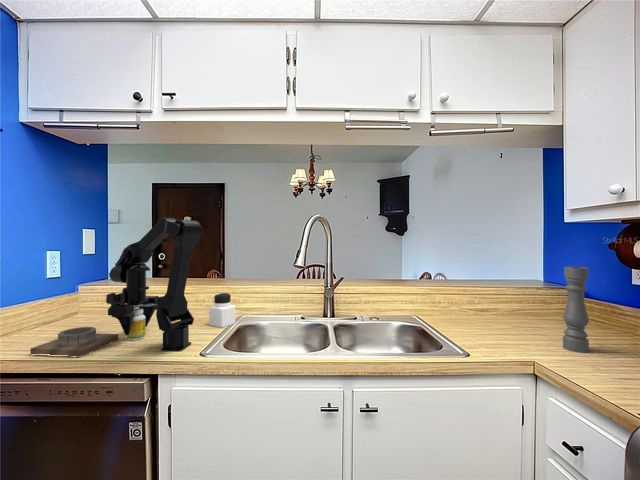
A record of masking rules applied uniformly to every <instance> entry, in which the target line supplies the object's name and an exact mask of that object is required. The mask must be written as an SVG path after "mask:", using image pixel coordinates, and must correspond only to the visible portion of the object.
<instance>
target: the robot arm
mask: <svg viewBox="0 0 640 480" xmlns="http://www.w3.org/2000/svg"><path fill="white" fill-rule="evenodd" d="M202 233H203V226H201V223H200V222H199V221H198V220H188V219H176V218H173V217H160V218H158V219H157V223H156V224H155V225H154V226H153V227H152V228H151V229H150V230H149V231H147V233H146V234H145V235H143V237H142V238H141V239H140V240H139V241H136V242H133V243H131V244H129V245H127V246H125V248H124V249H123V250H122V252H121V254H120V256H119V259H118V260H117V262H115V265H114V266H113V267H112V268H111V269H110V272H109V274H108V275H109V279H110V281H112V282H114V283H121V284H126V285H125V287H123V288H122V292H121V293H115V292H112V293H111V292H110V293H108V294H106V296H105V297H106V298H105V303H106V304H108V305H110V306H109V307H108V309H107V316H111V318H115V319H116V320H117V321H118V322H119V323H120V326H121V329H122V330H123V333H124V336H127V335H129V333H130V330H131V326H132V322H133V318H134V315H135V314H132V313H133V311H134V309H138V308H141V309H143V315H145V318H146V319H145V328H147V327H148V325H149V323H150V321H151V319H152V317H153V315H154V313H156V314H155V317H156V321H157V324H158V329H159V330H160V331H162V347H160V351H178V352H180V351H182V350H184V349H186V348H187V347H189V346H190V345H192V341H189V340H190V339H189V336H190V333H189V326H193V325H194V321H195V318H194V316H193V315H192V313H191V312H190V310H189V309H188V301H187V299H186V298H187V297H186V296H185V291H186V286H187V285H186V284H187V280H188V274H189V269H190V263H191V259H192V253H193V250H194V249H195V248H196V246H197V245H198V244H199V243H200V240H201V236H202ZM169 235H170V237H169V238H170V241H171V243H172V245H173V248H174V249H173V254H172V260H171V266H170V271H169V276H168V277H169V278H168V283H167V288H166V293H165V294H164V295H163V296H158V295H147V290H150V286H148V285H147V271H148V272H149V271H151V269H150V267H149V266H148V265H147V264H146V263H148V262H149V261H150V259H151V258H152V257H153V251H154V250H155V249H156V248H157V247H158V246H159V245H160V244H161V243H162V242H163V241H164V240H165V239H166V238H167V237H168V236H169Z"/></svg>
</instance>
